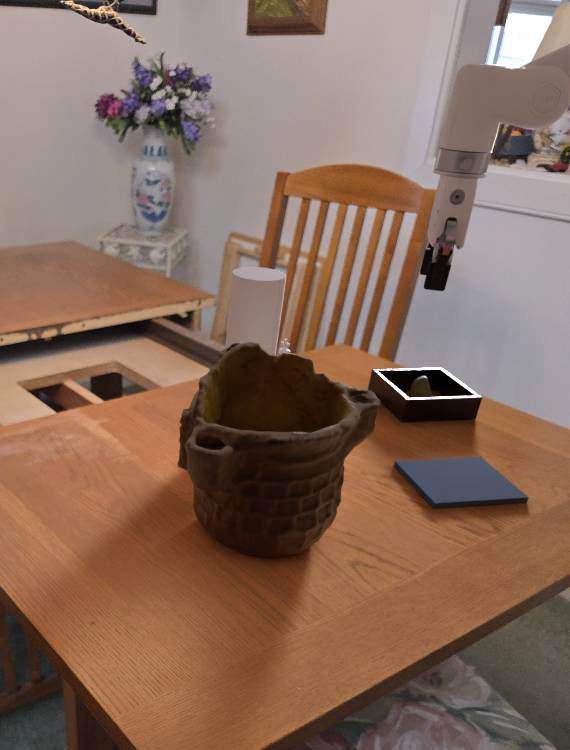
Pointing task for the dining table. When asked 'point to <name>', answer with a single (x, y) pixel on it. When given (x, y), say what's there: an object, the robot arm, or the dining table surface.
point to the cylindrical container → (255, 307)
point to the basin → (451, 406)
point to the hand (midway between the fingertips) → (431, 282)
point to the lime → (420, 388)
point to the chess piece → (284, 347)
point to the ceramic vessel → (270, 449)
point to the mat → (459, 482)
